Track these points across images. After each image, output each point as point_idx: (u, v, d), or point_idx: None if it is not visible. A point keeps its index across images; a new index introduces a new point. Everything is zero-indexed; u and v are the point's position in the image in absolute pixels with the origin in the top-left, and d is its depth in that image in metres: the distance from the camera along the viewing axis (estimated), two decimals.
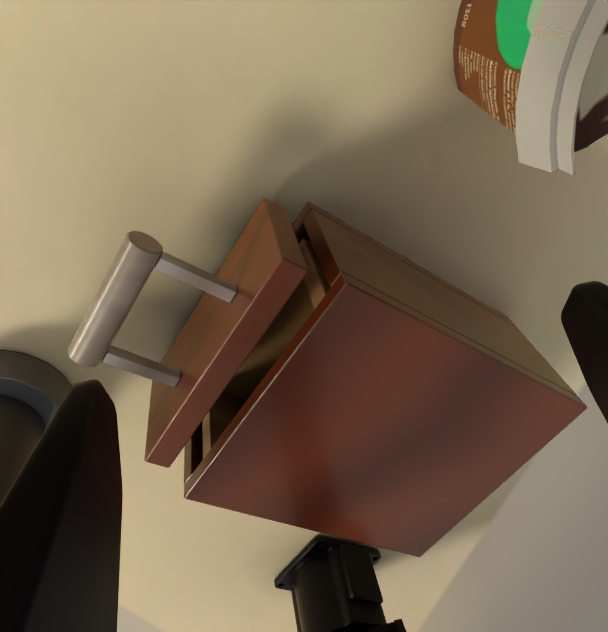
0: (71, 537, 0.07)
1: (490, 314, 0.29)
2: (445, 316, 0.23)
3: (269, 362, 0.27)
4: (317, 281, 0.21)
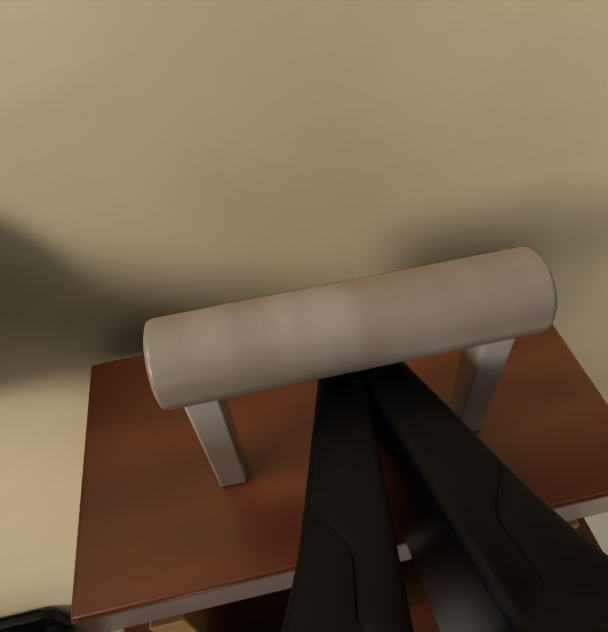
0: None
1: None
2: None
3: None
4: None
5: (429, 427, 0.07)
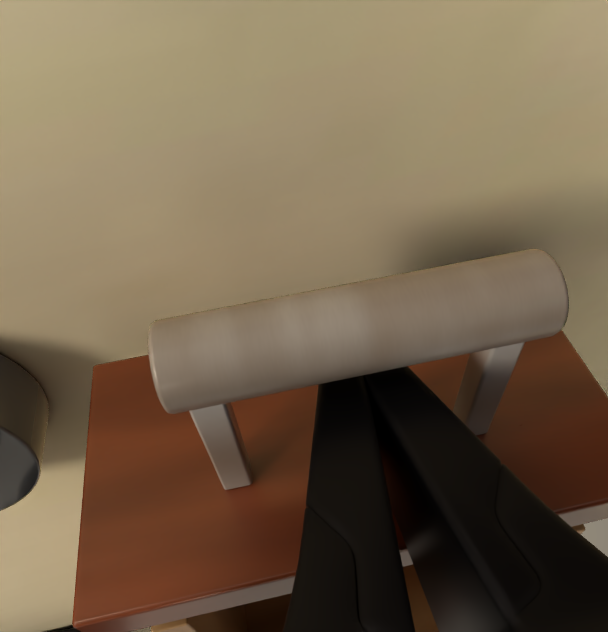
0: None
1: None
2: None
3: None
4: None
5: (428, 427, 0.07)
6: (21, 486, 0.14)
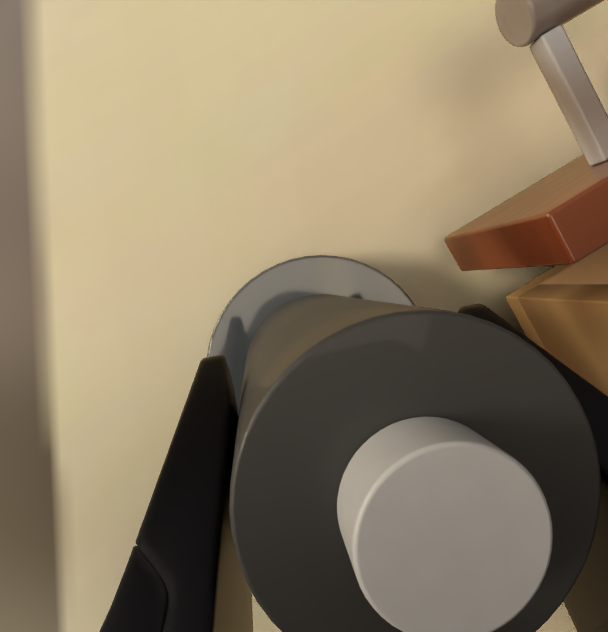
0: None
1: None
2: None
3: None
4: None
5: None
6: None
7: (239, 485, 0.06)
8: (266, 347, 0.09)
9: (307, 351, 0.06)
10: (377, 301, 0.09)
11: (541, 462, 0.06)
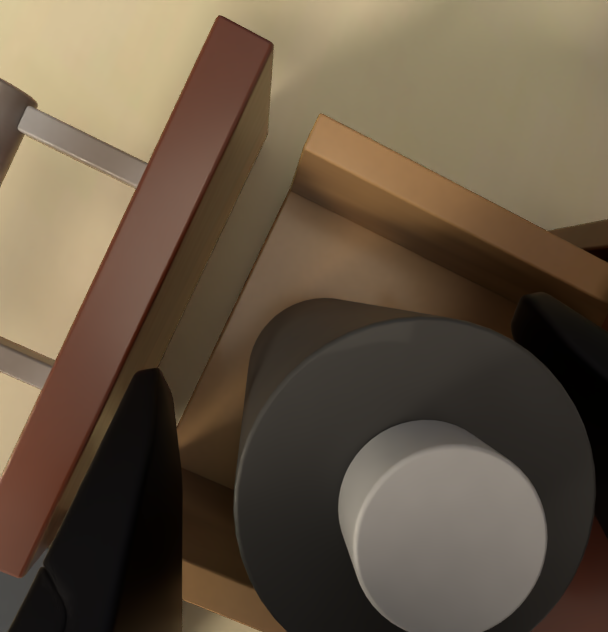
0: (148, 520, 0.07)
1: None
2: None
3: None
4: None
5: None
6: None
7: (243, 487, 0.06)
8: (269, 351, 0.09)
9: (309, 356, 0.06)
10: (377, 306, 0.09)
11: (537, 464, 0.06)
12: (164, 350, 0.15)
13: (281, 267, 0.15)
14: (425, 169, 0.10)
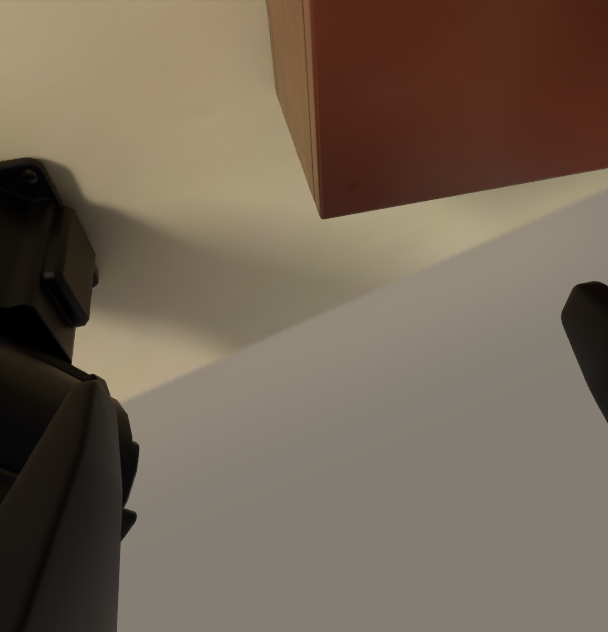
0: (71, 537, 0.07)
1: None
2: None
3: None
4: None
5: None
6: None
7: None
8: None
9: None
10: None
11: None
12: None
13: None
14: None
